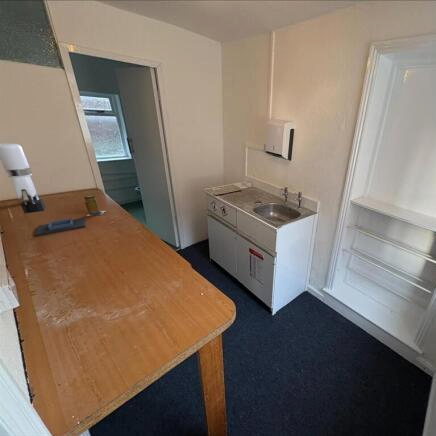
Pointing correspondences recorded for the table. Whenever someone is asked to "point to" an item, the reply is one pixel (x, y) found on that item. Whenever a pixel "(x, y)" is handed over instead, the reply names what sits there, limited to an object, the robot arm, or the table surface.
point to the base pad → (60, 226)
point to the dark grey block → (38, 202)
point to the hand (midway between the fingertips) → (34, 209)
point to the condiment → (92, 206)
